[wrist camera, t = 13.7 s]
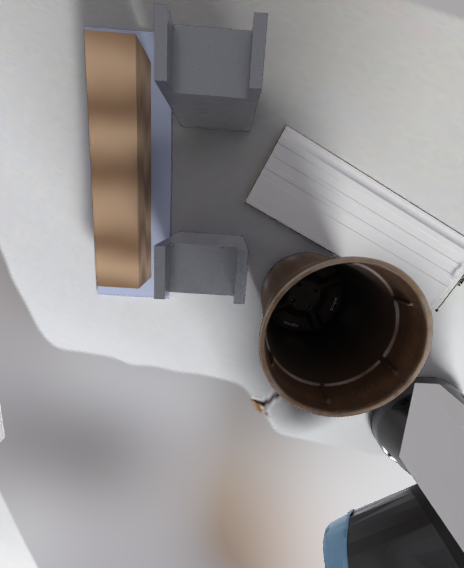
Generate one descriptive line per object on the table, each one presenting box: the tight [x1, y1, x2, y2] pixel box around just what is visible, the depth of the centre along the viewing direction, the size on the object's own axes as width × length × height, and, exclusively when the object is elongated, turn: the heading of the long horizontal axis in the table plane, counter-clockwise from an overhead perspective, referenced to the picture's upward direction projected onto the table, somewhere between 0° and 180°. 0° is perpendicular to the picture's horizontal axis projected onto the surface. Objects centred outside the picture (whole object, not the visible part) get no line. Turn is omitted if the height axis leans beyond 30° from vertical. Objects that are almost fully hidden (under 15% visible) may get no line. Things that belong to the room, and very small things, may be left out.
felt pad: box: [84, 26, 172, 299], centre depth 39 cm, size 32×10×1 cm, turn 176°
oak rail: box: [84, 30, 151, 289], centre depth 36 cm, size 26×5×6 cm, turn 176°
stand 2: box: [154, 231, 249, 304], centre depth 35 cm, size 5×8×14 cm, turn 86°
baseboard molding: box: [245, 126, 464, 312], centre depth 40 cm, size 31×3×12 cm
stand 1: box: [154, 4, 268, 132], centre depth 30 cm, size 5×8×14 cm, turn 86°
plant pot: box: [259, 253, 433, 417], centre depth 36 cm, size 16×16×16 cm
